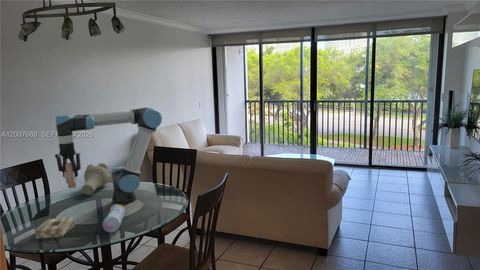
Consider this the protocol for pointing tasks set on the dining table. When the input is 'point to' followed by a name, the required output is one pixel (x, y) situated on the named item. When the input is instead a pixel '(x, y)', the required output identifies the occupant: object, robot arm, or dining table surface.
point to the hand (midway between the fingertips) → (71, 182)
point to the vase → (95, 178)
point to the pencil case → (114, 218)
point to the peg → (70, 175)
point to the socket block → (54, 228)
